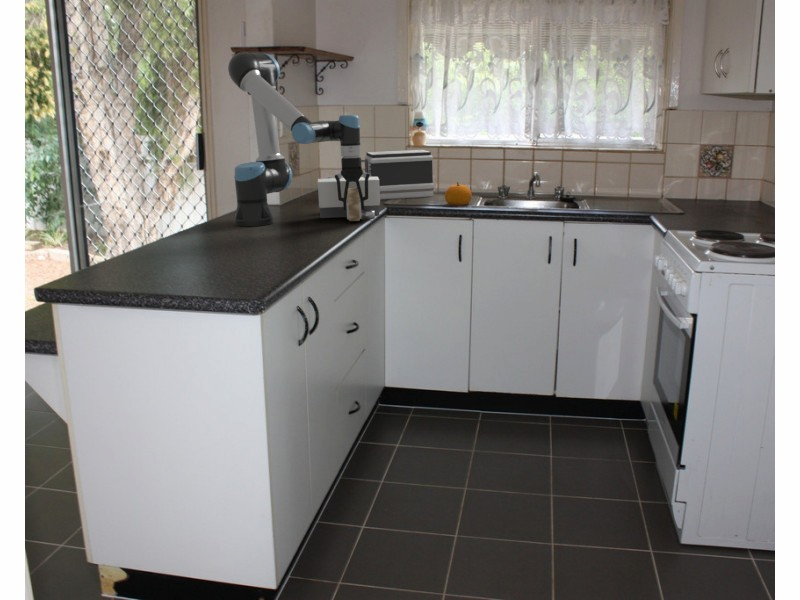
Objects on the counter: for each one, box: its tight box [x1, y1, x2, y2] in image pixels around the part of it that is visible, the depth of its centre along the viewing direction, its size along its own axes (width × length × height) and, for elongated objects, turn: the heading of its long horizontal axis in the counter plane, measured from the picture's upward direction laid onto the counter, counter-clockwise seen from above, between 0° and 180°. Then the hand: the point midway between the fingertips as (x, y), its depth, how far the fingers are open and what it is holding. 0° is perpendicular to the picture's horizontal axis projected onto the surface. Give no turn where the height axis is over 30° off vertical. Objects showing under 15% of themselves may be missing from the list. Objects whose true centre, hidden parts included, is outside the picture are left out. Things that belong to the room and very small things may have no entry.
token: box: [360, 210, 376, 221], centre depth 300 cm, size 7×7×3 cm
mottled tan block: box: [348, 188, 361, 222], centre depth 294 cm, size 4×16×12 cm, turn 5°
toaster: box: [361, 149, 435, 201], centre depth 360 cm, size 18×34×21 cm, turn 102°
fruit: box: [444, 181, 473, 207], centre depth 328 cm, size 12×12×10 cm
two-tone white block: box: [317, 176, 381, 219], centre depth 300 cm, size 24×12×16 cm, turn 95°
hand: (354, 218), depth 289 cm, fingers closed on mottled tan block, 4 cm apart
